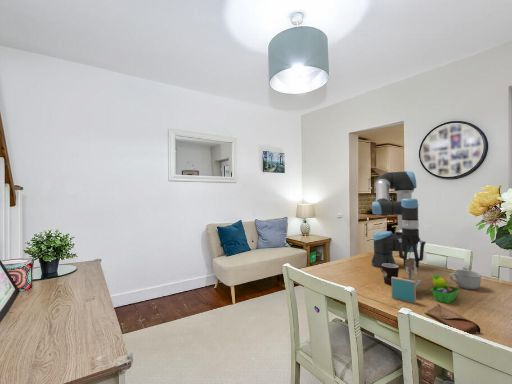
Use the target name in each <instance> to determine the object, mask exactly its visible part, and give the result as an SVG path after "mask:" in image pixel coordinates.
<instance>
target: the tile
mask: <svg viewBox="0 0 512 384" xmlns="http://www.w3.org/2000/svg"><path fill="white" fill-rule="evenodd" d="M402 278H403V277H398V278H397V277H391V285H390V286H391V298H392V299H395V300H399V301H404V302H407V303H411V304H417V287H416V281H413V280H407V279H402Z"/></svg>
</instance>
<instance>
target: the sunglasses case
mask: <svg viewBox="0 0 512 384" xmlns="http://www.w3.org/2000/svg"><path fill="white" fill-rule="evenodd" d="M423 314H424V315H425V316H428V317H430V318H432V320H433V319H434V320H436V321H437V322H439V323H441V324H442V323H443V325H444V324H445V325H448V326H450V327H453V328H456V329H459V330H462V331H464V332H467V333H470V334H469V335H473V334H477V333H476V332H479V333H478V334H481V328H480V326H479V325H478V324H477V323H476V322H475V321H472V320H470V319H468V318H465V317H463V316H461V314H458V313H457V312H454V311H452V310H450V309H449V308H446V307H444V306H442V305H441V304H439V303H437V305H435V306H434V307H432V308H430V309H428V311H426V312H423ZM445 325H444V326H445Z"/></svg>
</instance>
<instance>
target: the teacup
mask: <svg viewBox="0 0 512 384" xmlns="http://www.w3.org/2000/svg"><path fill="white" fill-rule="evenodd" d="M453 276H454V278H453ZM481 279H482V274H481V273H478V272H476V271H473V270H469V269H461V268H460V269H459V268H458V269H455V270H454V272H451V273H449V280H451V281H452V282H455V284H456V285H458V286H459V287H460V288H463V289H465V290H470V289H471V291H473V290H476V289H478V288H480V287H481V283H482V280H481Z"/></svg>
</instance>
